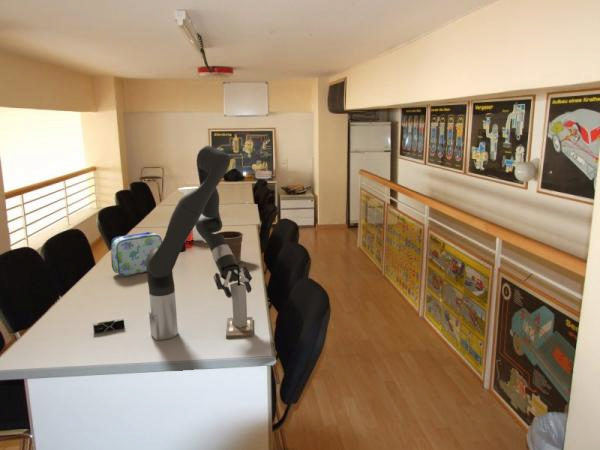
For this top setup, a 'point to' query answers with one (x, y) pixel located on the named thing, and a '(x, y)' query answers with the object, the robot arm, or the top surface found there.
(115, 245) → the lunch box
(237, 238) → the plant pot
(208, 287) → the top surface
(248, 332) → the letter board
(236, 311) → the vintage mobile phone
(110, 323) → the graphics card
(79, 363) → the top surface
